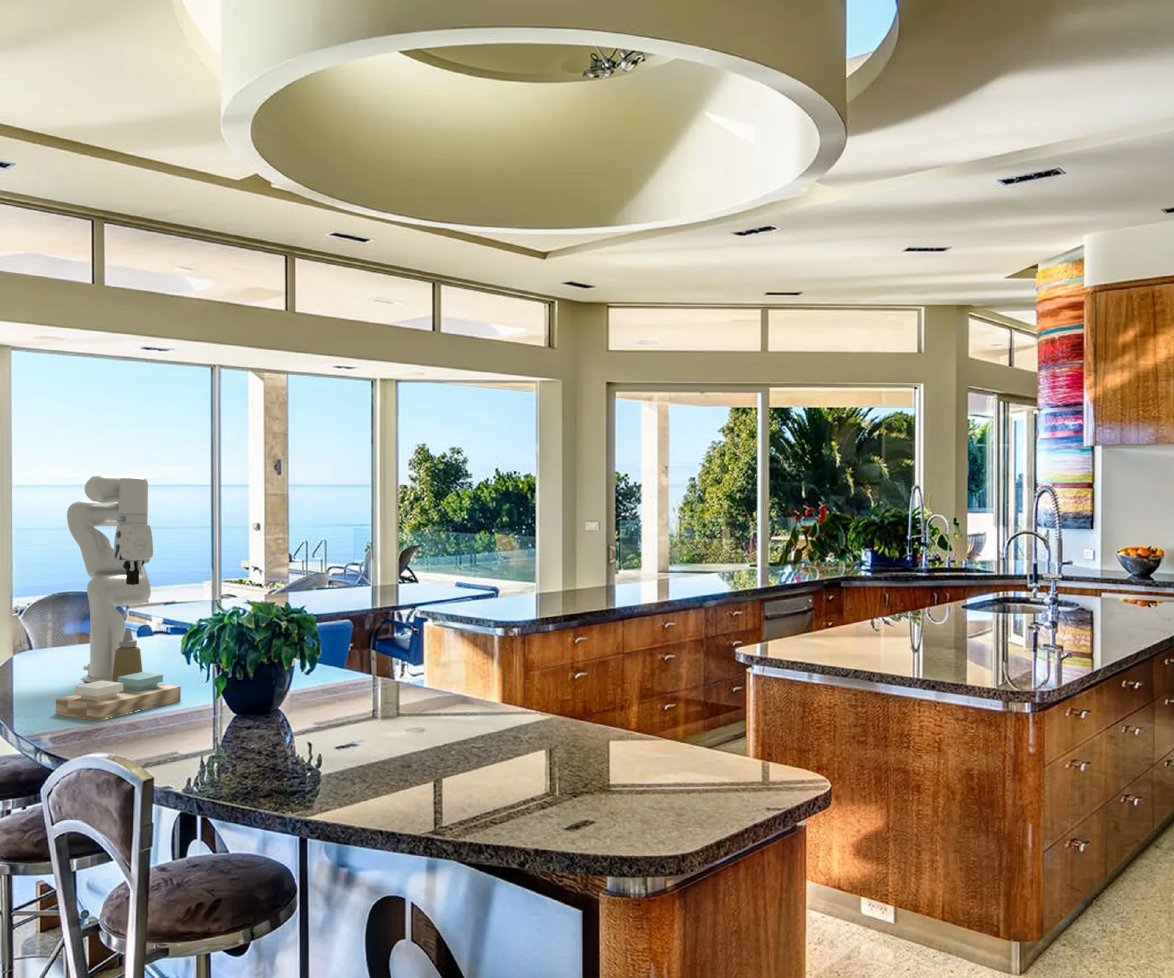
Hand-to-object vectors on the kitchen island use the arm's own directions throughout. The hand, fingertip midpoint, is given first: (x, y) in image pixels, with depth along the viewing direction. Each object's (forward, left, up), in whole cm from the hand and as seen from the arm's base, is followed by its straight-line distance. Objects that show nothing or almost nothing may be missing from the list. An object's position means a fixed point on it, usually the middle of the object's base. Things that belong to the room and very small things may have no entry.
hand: (132, 584), depth 281 cm
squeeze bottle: (-4, +2, -31) cm, 32 cm away
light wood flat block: (+12, -14, -31) cm, 36 cm away
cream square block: (+12, -20, -29) cm, 37 cm away
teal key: (+12, -8, -29) cm, 32 cm away
